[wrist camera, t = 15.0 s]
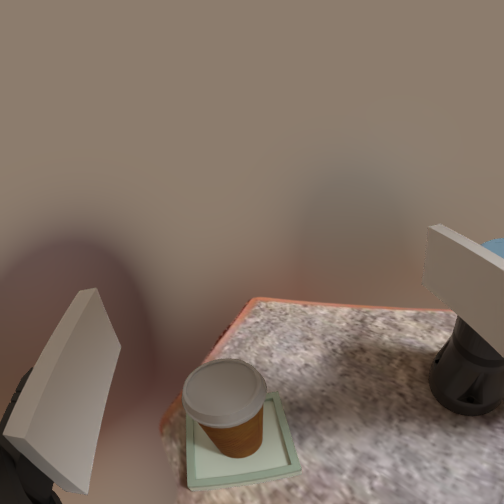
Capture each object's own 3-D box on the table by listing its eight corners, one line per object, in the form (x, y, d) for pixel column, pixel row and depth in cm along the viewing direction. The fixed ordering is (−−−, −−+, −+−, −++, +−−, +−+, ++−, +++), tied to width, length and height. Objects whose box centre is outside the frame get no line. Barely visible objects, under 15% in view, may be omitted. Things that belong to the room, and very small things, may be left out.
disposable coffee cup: (193, 431, 37) (166, 377, 32) (250, 403, 41) (237, 345, 36) (225, 480, 29) (200, 434, 24) (289, 445, 33) (283, 390, 29)
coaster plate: (278, 398, 43) (277, 391, 42) (301, 474, 30) (301, 468, 29) (189, 413, 41) (185, 406, 41) (191, 491, 29) (187, 486, 28)
